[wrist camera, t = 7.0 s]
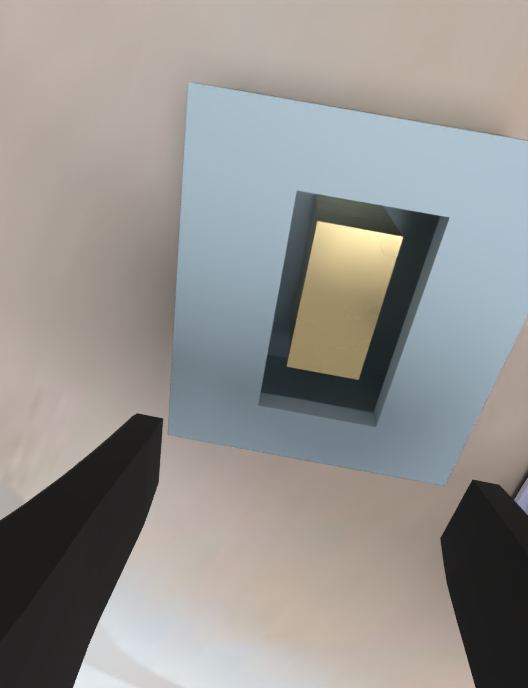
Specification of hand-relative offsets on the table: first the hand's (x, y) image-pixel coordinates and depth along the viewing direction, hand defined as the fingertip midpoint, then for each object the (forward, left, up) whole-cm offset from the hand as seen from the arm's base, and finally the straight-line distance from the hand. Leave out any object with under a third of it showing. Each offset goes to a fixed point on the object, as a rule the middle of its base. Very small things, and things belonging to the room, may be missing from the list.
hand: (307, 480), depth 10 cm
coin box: (0, -2, -10) cm, 11 cm away
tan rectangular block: (0, -2, -10) cm, 10 cm away
